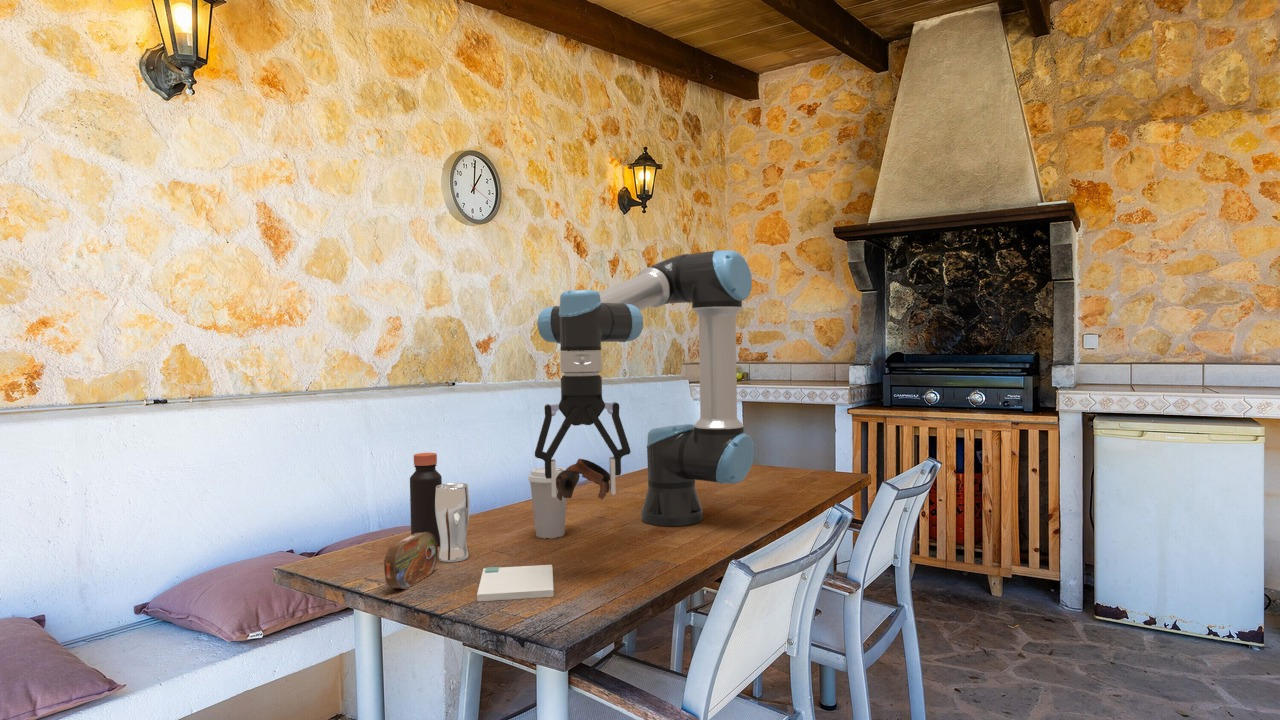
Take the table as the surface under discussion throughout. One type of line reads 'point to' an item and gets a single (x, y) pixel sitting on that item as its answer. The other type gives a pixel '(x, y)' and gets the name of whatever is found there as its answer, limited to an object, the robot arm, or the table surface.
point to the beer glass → (452, 520)
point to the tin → (410, 560)
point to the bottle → (424, 494)
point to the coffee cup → (547, 505)
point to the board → (516, 583)
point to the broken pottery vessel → (589, 471)
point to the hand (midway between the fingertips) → (583, 494)
